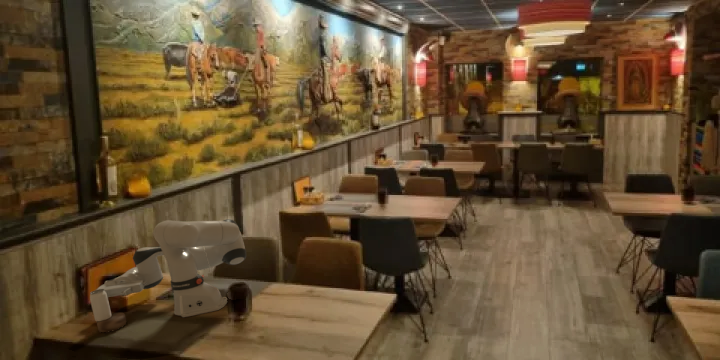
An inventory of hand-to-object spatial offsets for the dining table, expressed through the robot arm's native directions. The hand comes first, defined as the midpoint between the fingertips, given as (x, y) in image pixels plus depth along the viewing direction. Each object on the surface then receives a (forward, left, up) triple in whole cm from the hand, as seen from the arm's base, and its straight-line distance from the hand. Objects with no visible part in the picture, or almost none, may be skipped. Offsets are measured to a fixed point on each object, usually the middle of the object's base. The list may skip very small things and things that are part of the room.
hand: (112, 295), depth 244 cm
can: (+3, +6, -8) cm, 10 cm away
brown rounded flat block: (0, +6, -11) cm, 13 cm away
